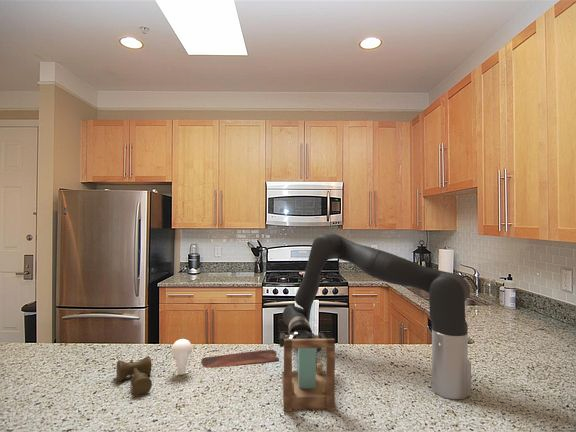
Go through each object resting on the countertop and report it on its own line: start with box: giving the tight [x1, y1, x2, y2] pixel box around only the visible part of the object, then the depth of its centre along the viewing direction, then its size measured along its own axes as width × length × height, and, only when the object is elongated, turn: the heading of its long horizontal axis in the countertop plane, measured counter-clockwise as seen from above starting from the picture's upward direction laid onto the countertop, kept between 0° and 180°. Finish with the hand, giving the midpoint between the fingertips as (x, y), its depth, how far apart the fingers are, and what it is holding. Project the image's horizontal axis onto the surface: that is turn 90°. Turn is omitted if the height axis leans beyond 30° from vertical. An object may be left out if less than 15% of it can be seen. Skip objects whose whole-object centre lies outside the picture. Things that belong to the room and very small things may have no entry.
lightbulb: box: [171, 338, 193, 376], centre depth 107 cm, size 6×6×11 cm
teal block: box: [297, 348, 317, 388], centre depth 95 cm, size 4×6×11 cm
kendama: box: [115, 355, 153, 397], centre depth 102 cm, size 6×10×20 cm
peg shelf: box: [281, 337, 336, 413], centre depth 95 cm, size 13×16×18 cm
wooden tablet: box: [200, 349, 280, 369], centre depth 119 cm, size 26×2×10 cm
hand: (304, 348), depth 99 cm, fingers open, 8 cm apart
